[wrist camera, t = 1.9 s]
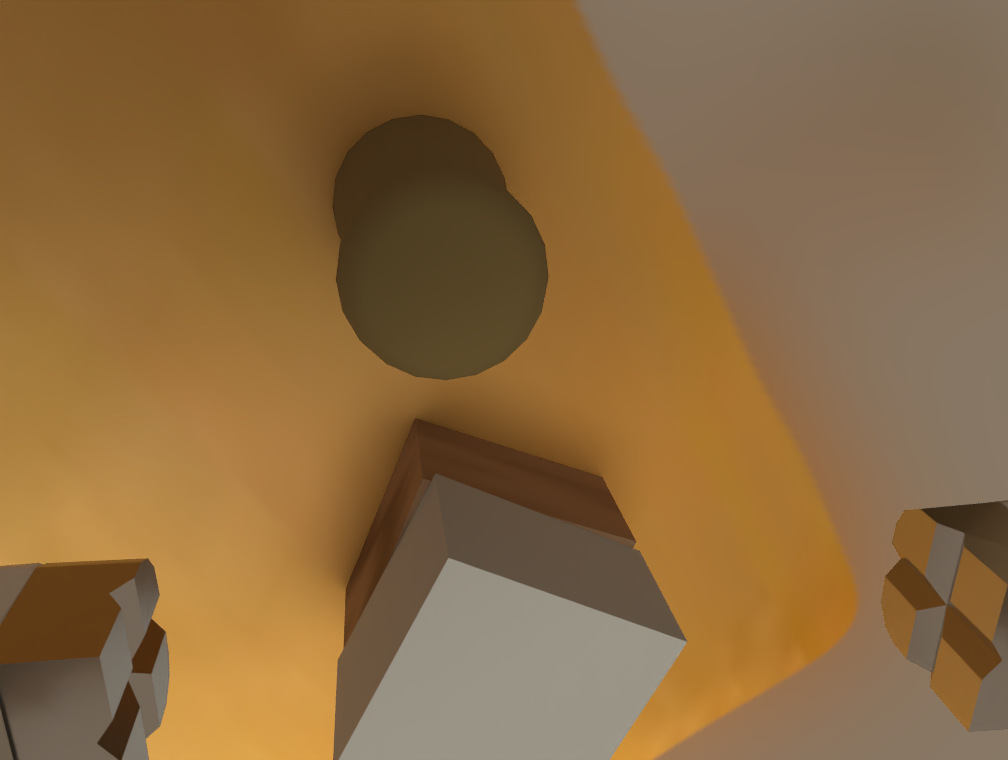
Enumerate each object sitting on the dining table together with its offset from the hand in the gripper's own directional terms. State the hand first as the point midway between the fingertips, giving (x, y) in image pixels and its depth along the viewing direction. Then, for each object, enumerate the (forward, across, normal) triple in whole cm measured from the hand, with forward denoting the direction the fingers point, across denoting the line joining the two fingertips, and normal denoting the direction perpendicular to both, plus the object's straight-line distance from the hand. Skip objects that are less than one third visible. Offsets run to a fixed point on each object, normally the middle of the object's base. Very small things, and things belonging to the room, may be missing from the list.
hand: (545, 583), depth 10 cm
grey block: (+18, -2, +13) cm, 22 cm away
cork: (+23, 0, 0) cm, 23 cm away
